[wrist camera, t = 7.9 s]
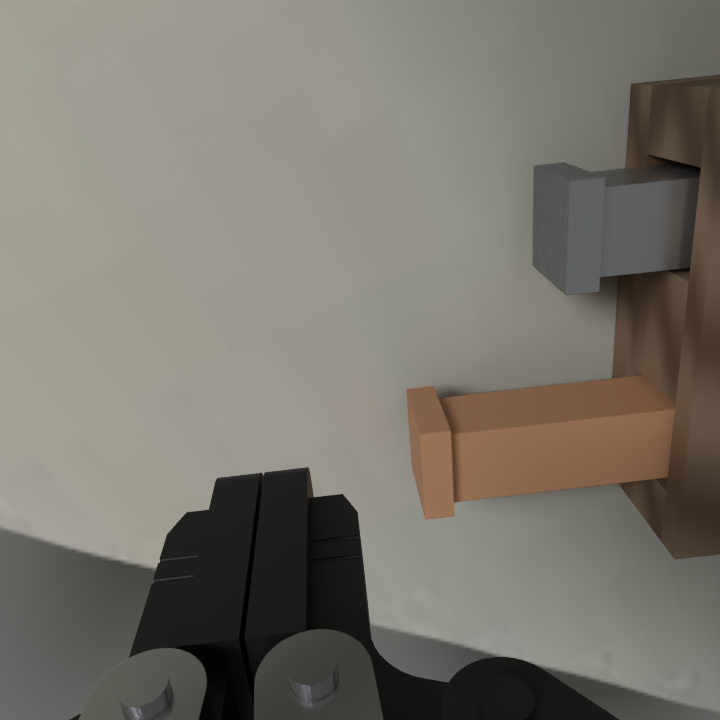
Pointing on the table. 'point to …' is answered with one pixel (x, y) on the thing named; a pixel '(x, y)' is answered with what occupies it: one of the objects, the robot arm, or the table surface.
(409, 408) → the rust plug
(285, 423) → the table surface
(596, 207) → the grey plug
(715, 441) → the socket block
